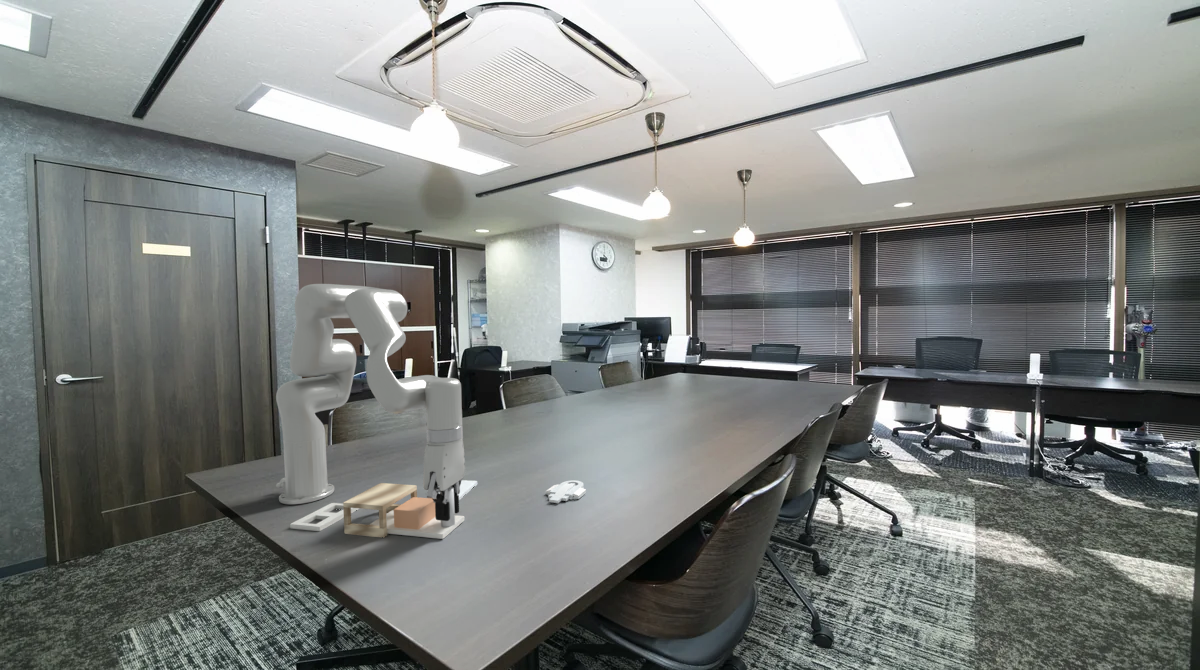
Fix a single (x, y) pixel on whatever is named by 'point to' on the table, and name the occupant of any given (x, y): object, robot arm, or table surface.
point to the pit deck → (321, 518)
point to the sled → (421, 518)
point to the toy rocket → (566, 491)
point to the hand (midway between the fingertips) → (447, 515)
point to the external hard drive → (466, 487)
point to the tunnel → (376, 507)
